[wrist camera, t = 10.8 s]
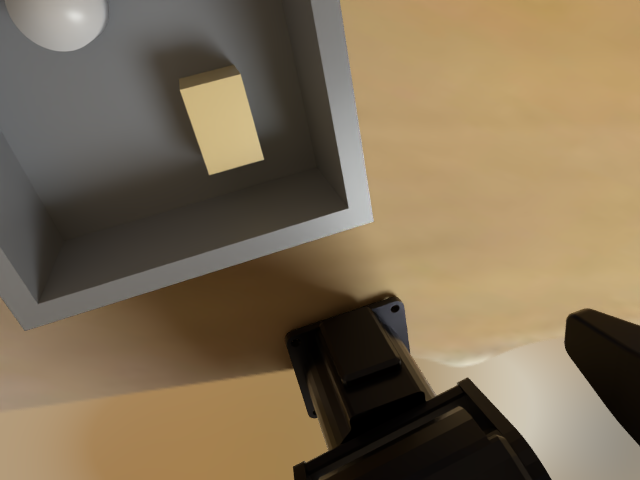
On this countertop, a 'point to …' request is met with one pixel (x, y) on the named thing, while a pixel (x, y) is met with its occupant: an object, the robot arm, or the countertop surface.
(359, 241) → the countertop surface
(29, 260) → the tub
